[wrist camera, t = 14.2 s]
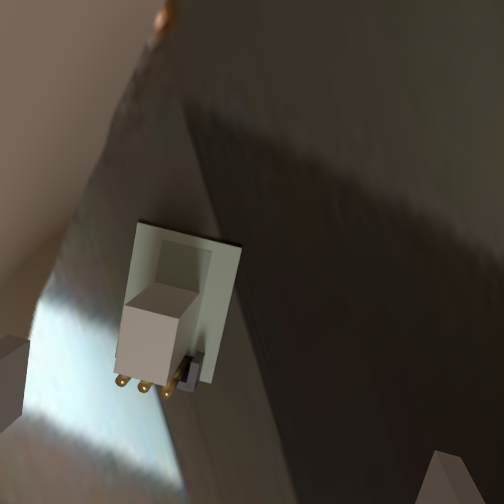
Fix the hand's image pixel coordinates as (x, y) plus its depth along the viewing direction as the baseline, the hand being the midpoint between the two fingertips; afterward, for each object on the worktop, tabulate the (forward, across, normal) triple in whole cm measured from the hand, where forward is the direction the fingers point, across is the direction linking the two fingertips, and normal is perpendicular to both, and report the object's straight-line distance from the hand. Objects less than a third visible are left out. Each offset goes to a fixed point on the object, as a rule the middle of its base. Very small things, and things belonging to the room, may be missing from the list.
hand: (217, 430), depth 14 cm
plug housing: (+26, -8, -8) cm, 29 cm away
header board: (+27, -8, -7) cm, 29 cm away
